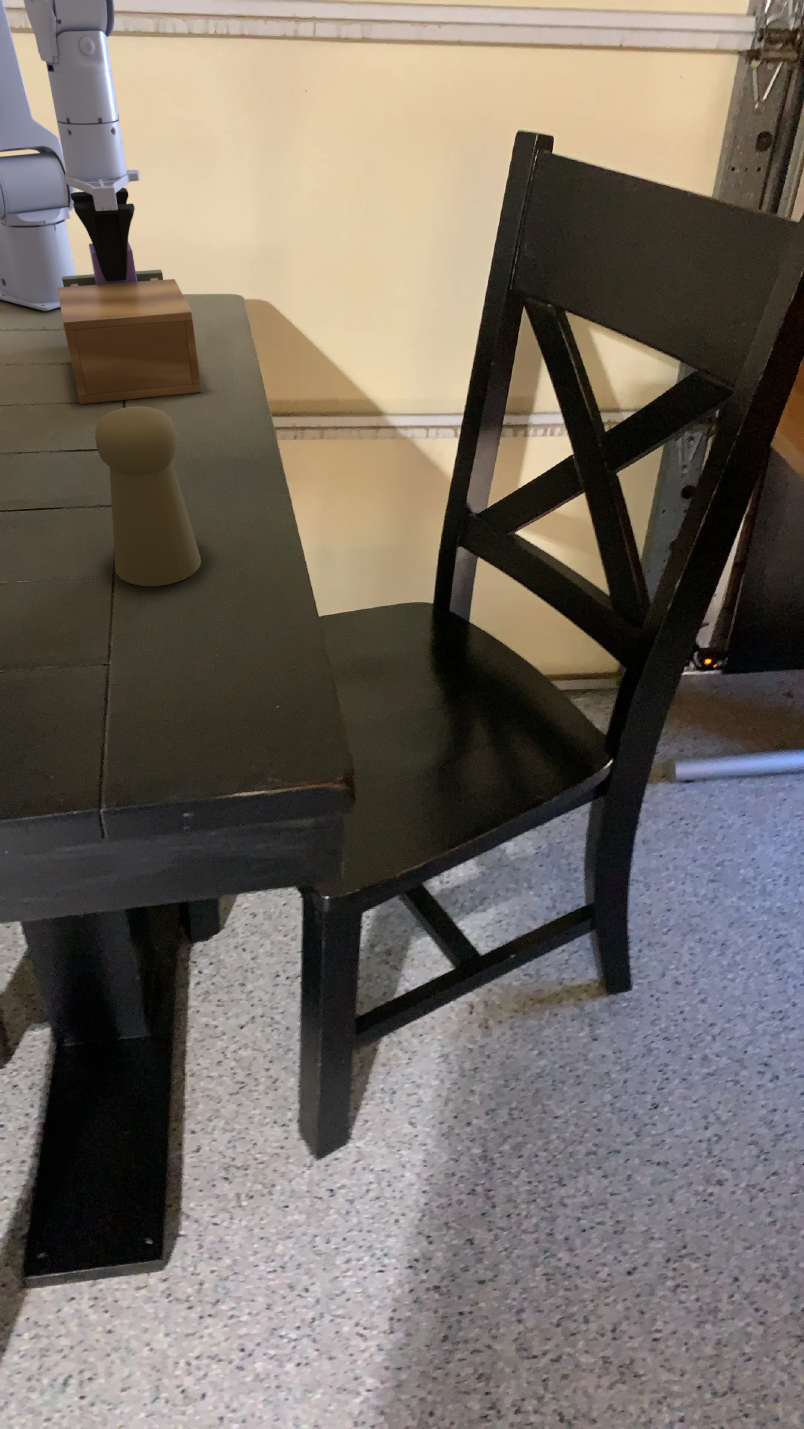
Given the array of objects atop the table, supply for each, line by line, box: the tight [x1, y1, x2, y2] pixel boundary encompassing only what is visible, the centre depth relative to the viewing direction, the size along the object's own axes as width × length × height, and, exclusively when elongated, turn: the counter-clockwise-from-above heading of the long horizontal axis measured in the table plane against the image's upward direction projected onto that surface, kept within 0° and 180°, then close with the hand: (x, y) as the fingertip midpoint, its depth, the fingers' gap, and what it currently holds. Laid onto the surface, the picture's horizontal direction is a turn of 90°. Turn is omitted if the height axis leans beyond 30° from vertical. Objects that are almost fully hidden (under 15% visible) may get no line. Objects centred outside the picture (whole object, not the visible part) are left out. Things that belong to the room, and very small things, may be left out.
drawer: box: [62, 269, 164, 287], centre depth 102 cm, size 15×10×6 cm
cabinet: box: [57, 278, 202, 405], centre depth 94 cm, size 12×12×8 cm
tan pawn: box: [94, 405, 202, 587], centre depth 64 cm, size 6×6×11 cm
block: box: [88, 241, 137, 285], centre depth 98 cm, size 4×4×4 cm
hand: (114, 274), depth 98 cm, fingers closed on block, 4 cm apart
